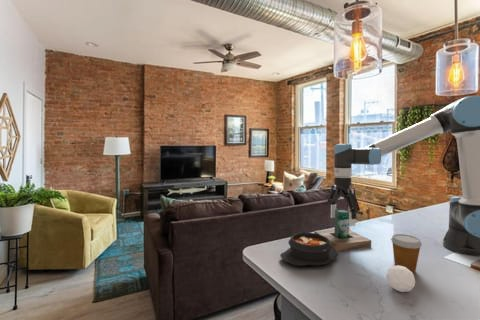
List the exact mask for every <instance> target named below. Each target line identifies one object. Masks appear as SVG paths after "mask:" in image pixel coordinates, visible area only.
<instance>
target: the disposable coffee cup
mask: <svg viewBox="0 0 480 320" xmlns="http://www.w3.org/2000/svg"><path fill="white" fill-rule="evenodd" d="M390 240H391V243H392V250H393V259H394V260H393V261H394V266H396V265H398V266H404V267H406V268H407V269H408V270H410V271H411V272H412V273H413V274H415V273H416V271H417V270H416V269H417V265H418V262H419V255H420V250H421V247H422V245H423V244H422V242H421V239H420V238H419V237H416V236H413V235H410V234H404V233H394V234H393V235H392V237H391V238H390Z"/></svg>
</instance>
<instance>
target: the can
mask: <svg viewBox="0 0 480 320" xmlns="http://www.w3.org/2000/svg"><path fill="white" fill-rule="evenodd" d="M349 211H350V210H348V209H344V208H336V210H335V218H334V229H335V233H334V236H335V237H336V238H338V239H346V238H349V230H350V226H349Z"/></svg>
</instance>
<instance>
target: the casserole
mask: <svg viewBox="0 0 480 320" xmlns="http://www.w3.org/2000/svg"><path fill="white" fill-rule="evenodd" d="M288 245H289V248H287V250H285V251H283V252H282V253H280V255H279V256H280V258H281V259H282V260H283V261H285V262H287V263H288V264H291V265H293V266H297V267H298V266H299V267H300V266H321V265H327V264H329V263H331V262H333V261H334V259H335V258H336V257H337V256H339V251H336V250H334V249H332V245H331V244H330V242H329V239H328V238H326V237H325V236H322V235H319V234H315V233H314V232H298V233H294V234H293V235H291V236H290V239H289V240H288Z"/></svg>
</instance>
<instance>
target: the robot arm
mask: <svg viewBox="0 0 480 320" xmlns="http://www.w3.org/2000/svg"><path fill="white" fill-rule="evenodd" d="M447 132H450V134H451V135H452V136H454V137H455V138H456V145H457V146H456V147H457V153H458V154H457V155H458V164H459V174H460V183H461V190H462V191H461V192H462V196H456V195H455V196H451V197H450V200H449V202H448V203H449V211H448V212H449V213H448V229H447V231H446V233H445V235H444V237H443V239H442V245H443V247H445V248H446V249H448V250H451V251H454V252H456V253H460V254H464V255H469V256H470V255H471V256H480V95H470V96H469V95H468V96H465V97H461V98H459V99H457V100H455V101H453V102H451V103H450V104H447V105H446V106H445V107H443V108H442V109H440V110H438V111H436V112H434V113H432V114H430V115H429V117H428V118H426V119H424V120H422V121H420V122H418V123H415V124H413V125H411V126H409V127H407V128H404V129H402V130H399V131H398V132H394V133H393V134H391V135H388V136H387V137H385V138H382V139H380V140H378V141H375V142H374V143H371V144H369V145H367V146H363V147H353V146H352V144H351V143H336V144H335V145H334V151H333V152H334V153H333V154H334V155H333V158H334V159H333V162H334V163H333V165H334V178H333V181H334V183H333V184H332V185H331V189H330V192H329V194H328V198H327V202H328V203H329V205H330V218H331V219H335V210H336V209H337V202H338V200H339V198H340V197H341V198H343V199H344V200H345V202H346V204H347V206H348V208H349V210H348V211H349V227H356V219H357V212H360V211H361V208H360V205H359V202H358V199H357V195H356V189H355V188H351V186H352V175H353V174H352V165H368V166H369V165H372V166H373V165H378V166H379V165H380V164H382V163H381V162H382V157H384V156H386V155H389V154H391V153H393V152H396V151H398V150H401V149H404V148H405V147H408V146H410V145H413V144H416V143H417V142H420V141H423V140H426V139H427V138H430V137H431V136H435V135H436V134H441V135H442V134H445V133H447Z"/></svg>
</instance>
